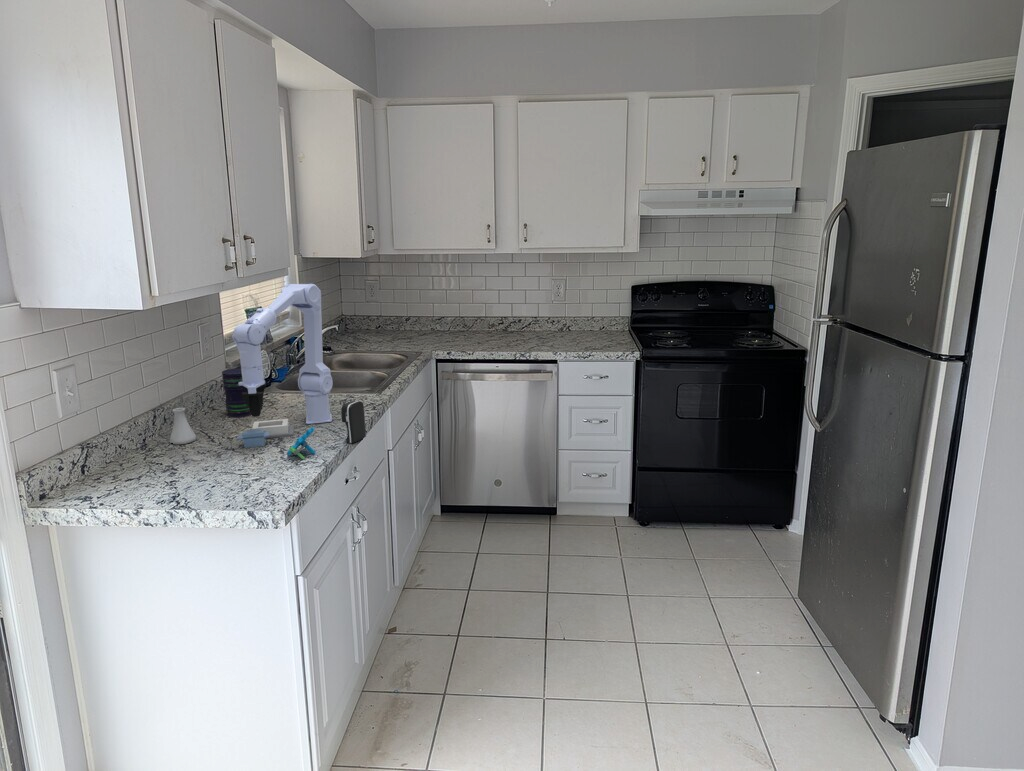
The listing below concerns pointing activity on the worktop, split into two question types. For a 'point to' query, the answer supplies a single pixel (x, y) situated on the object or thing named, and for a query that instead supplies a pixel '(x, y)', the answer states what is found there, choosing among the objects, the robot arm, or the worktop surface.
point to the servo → (253, 438)
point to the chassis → (275, 428)
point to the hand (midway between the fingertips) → (257, 412)
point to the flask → (181, 428)
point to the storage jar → (235, 394)
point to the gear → (301, 442)
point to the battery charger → (354, 420)
